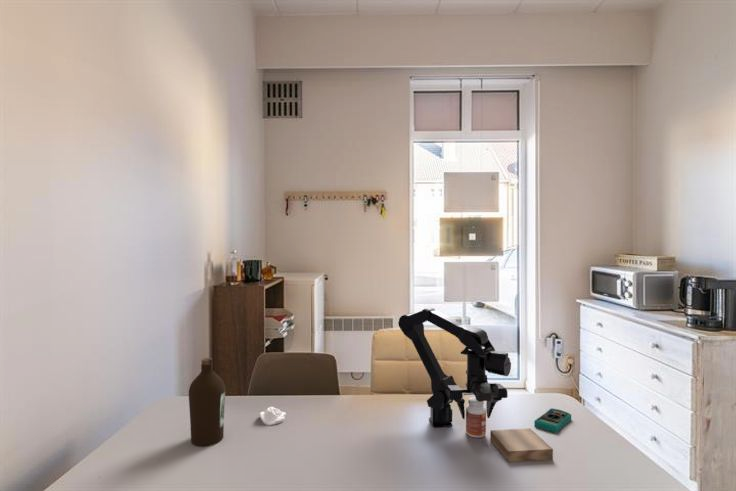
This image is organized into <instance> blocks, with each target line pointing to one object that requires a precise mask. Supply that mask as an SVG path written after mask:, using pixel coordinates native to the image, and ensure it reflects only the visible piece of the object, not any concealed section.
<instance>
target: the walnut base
mask: <svg viewBox="0 0 736 491" xmlns="http://www.w3.org/2000/svg"><path fill="white" fill-rule="evenodd" d="M489 438H490V439H489V440H490V441H491V442H492V444H493V445H494V446H495V448H496V449H497V450H498V451H499V452H500V454H502V456H503V457H504V459H506V461H507V462H508V463H515V462H533V461H532V460H536V461H548V460H549V461H551V460H553V459H554V448H552V447H551V446H550V445H549V444H548V443H547V442H546V441H545V440H544V439H543V438H542V437H540V436H539V434H538V433H536V432H535V431H534V430H533V429H532V428H515V429H514V428H513V429H495V430H494V429H493V430H490V436H489Z"/></svg>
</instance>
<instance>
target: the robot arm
mask: <svg viewBox="0 0 736 491" xmlns="http://www.w3.org/2000/svg"><path fill="white" fill-rule="evenodd" d="M426 322H428V323H431V324H432V325H434V326H436V327H438V328H440V329H442V330H443V331H445V332H447V333H449V334H451V335H452V336H455V337H456V338H457V339H458V340H459V342H460V343H461V344H462V345H463V346H465V348H464V349H463V350H461V351H460V355H463V356H464V355H465V356H466V370H465V374H466V382H465V388H461V387H460V386H459V385H458V384H457V383H456V382H455V379H454V377H453V375H449V376H448V375H447V374H446V373H445V372H444V370H443V368H442V367H441V365H440V363H439V361H438V359H437V357H436V355H435V353H434V350H433V349H432V348H431V345H430V344H429V342H428V339H427V337H426V335H425V325H424V323H426ZM397 324H398V326H399V329H400V330H401V332H402V333H403V335H404V336H405V337H406V338H408V339H409V340H410V341H411V343H412V345H413V346H414V348H415V350H416V352H417V354H418V356H419V358H420V360H421V362H422V365H423V366H424V368H425V370H426V372H427V374H428V376H429V379H430V385H431V386H430V387H431V388H430V389H431V392H432V395H431V396H430V397H429V398H427V400H426V403H427V406H428V408H430V414H429V415H430V416H429V417H428V420H429V421H430V423H431V425H432V427H433V428H443V427H453V423H452V422H453V408H452V406H451V404H452V403H453V402H455V403H456V405H457V407H458V410H459V412H460V415H461V418H462V420H466V409H465V403H466V400H465V399H464V396H469V395H471V396H474V397H476V400H477V401H479V402H482V401H484V402H486V404H485V405H486V407H485V409H486V418H487V419H490V417H491V415H492V412H493V410H494V407H495V406H496V404H497V403H498V402H501V401H502V400H503V399H507V398H508V394H509V393H508V389H507V388H506V387H505V386H503V385H502V384H501V383H497V382H495V383H493V382H492V383H491V382H490V383H489V382H488V374H486V372H488V373H489V374H494V375H498V376H503V377H508V376H509V374H511V368H512V362H511V359H510V357H509V353H508V352H498V351H496V348H495V347H494V345H493V344H492V343H491V341H490V339H489V337H488V333H487V331H486V330H484V329H482V328H479V327H476V326H471V325H467V324H464V323H461V322H459V321H458V320H455V319H453V318H451V317H450V316H447V315H446V314H444V313H442V312H440V311H439V310H436V309H435V308H434V307H426V308H424V309H422V310H420V311H418V312H410V313H406V314H402V315H401V316H400V317H399V319H398V323H397Z"/></svg>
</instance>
